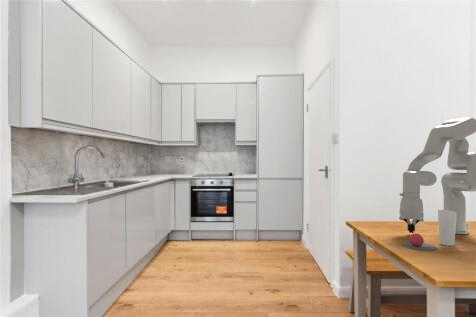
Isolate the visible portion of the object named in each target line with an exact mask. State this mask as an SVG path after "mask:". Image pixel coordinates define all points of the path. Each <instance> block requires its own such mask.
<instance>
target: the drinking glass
mask: <svg viewBox="0 0 476 317" xmlns="http://www.w3.org/2000/svg"><path fill="white" fill-rule="evenodd" d="M437 221H438V222H437V223H438V231H439V232H438V233H439V243H440V245H443V246H445V247H447V246H448V247H452V246H455V242H456V240H455V239H456V234H455V231H456V221H457V216H456V211H451V210H444V209H438V211H437Z"/></svg>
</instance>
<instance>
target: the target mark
mask: <svg viewBox="0 0 476 317" xmlns="http://www.w3.org/2000/svg"><path fill="white" fill-rule="evenodd" d="M401 246H403V247H406V248H409V249H411V250H416V251H417V250H419V251H428V252H429V251H430V252H431V251H437V250H438V247H437V246H435V245H432V244H429V243H424V242H423V244H422V245H421V246H419V247H416V246H413V245H412V244H411V243H410V242H409V241H404V242H402V245H401Z"/></svg>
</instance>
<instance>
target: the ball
mask: <svg viewBox="0 0 476 317" xmlns="http://www.w3.org/2000/svg"><path fill="white" fill-rule="evenodd" d="M424 241H425V240H424V237H423V236H422V235H421V234H419V233H411V234H410V235H409V237H408V242H410V243H411V244H412V245H413V246H416V247H419V246H421V245H422V244H423V243H424Z"/></svg>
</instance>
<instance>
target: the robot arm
mask: <svg viewBox="0 0 476 317" xmlns="http://www.w3.org/2000/svg"><path fill="white" fill-rule="evenodd" d="M475 133H476V119H475V118H474V117H462V118H456V119H449V120H446V121H443V122H442V123H441V125H439V126H435V127H433V128H431V130H430V133H429V134H428V138H427V139H426V142H425V144H424V148H423V150H422V151H421V152H420V153H419V154H417V155H416V156H415V158H414V159H412V161H411V162H410V163H409V165H408V167H407V170H405V171H404V172H403V173H402V192H400V193H399V196H400V197H401V199H400V203H399V217H398V219H399V220H400V221H404V222H405V223H406V224H407V232H409V233H410V234H415V233H414V232H415V231H416V225H417V224H418V223H420V222H425V221H424V217H425V216H424V214H425V213H424V204H423V203H424V202H423V199H422V198H421V187H422V186H424V187H431V186H433V185H435V184H436V182H437V175H436V174H435V173H434V172H432V171H429V170H421V169H422V168H423V167H424V166H426V165H428V164H429V163H431V162H434V161H436V160H438V159H439V158H440V159H441V157H442V156H443V152H444V151H445V147H446V145H447V143H448V144H449V145H448V146H449V147H448V154H447V162H446V163H447V167H448V169H450V170H452V171H453V172H447V173H444V174H443V175H442V176H441V178H440V179H441V180H440V183H441V187H442V192H443V195H442V196H443V210H451V211H456V216H457V221H456V231H455V235H469V234H470V231H469V230H468V229H466V228H467V227H469V224H468V223H466V222H467V221H466V220H467V219H466V218H467V217H466V216H467V212H466V211H467V210H466V209H467V208H466V201H467V200H466V197H465V194H464V193H463V192H470V193H472V192H473V193H475V192H476V152H475V151H471V152H470V151H469V149H470V148H469V147H470V146H469V145H470V144H469V143H470V142H469V140H467V138H468V137H469V136H472V135H473V134H475ZM455 171H457V172H455ZM458 171H466V172H458ZM411 221H412V222H411Z"/></svg>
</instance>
